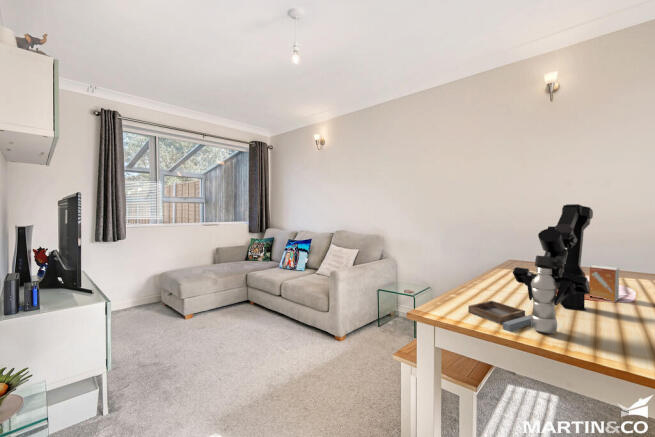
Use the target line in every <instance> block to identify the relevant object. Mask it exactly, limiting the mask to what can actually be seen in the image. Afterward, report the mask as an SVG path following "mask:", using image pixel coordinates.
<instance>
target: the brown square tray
mask: <svg viewBox="0 0 655 437" xmlns="http://www.w3.org/2000/svg"><path fill="white" fill-rule="evenodd" d="M467 307H468V313H470V314H473V315H474V316H477V317H481V318H482V319H485V320H489V321H491V322H493V323H496V324H499V325H503V322H507V321H510V320H514V319H518V318H521V317H525V316H526V310H523V309H520V308H517V307H513V306H510V305H507V304H504V303H500V302H497V301H494V300H488V301H484V302H480V303H473V304H470V305H468V306H467Z"/></svg>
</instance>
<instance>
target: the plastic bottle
mask: <svg viewBox="0 0 655 437" xmlns="http://www.w3.org/2000/svg"><path fill="white" fill-rule="evenodd" d="M536 269H537V270H536V273H535V274H537V276H535V277H534V279H533V280H532V282H531V288H532V294H533V298H532V314H531V315H532V316H531V325H530V326H531V327H532V329H533V330H535V331H537V332H540V333H544V334H554V333H556V331H557V330H558V320H557V316H556V305H554V301H555V297H556V295H557V292H558V290H557V283H556V282H555V280H554V279H553V278H552V277H551V275H552V268H550V267H537V266H536Z"/></svg>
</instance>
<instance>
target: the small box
mask: <svg viewBox="0 0 655 437" xmlns="http://www.w3.org/2000/svg"><path fill="white" fill-rule="evenodd" d="M588 270H589V274H588V276H589V277H588V282H589V287H590V294H591V295H595V296H599V297H603V298H606V299H610V300H609V302H614V303H616V302H617V300H616V299H617V298H618V297H619V295H620V288H619V287H620V268H619V267H614V266H612V267H611V266H606V265H605V266H604V265H596V264H593V265H591V266H589V269H588ZM619 298H620V297H619ZM619 298H618V299H619Z"/></svg>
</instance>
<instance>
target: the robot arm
mask: <svg viewBox="0 0 655 437" xmlns="http://www.w3.org/2000/svg"><path fill="white" fill-rule="evenodd" d="M593 216H594V212H593V209H592V207H590V206H584V205H582V204H579V203H578V204H576V203H575V204H574V203H573V204H572V203H571V204H570V203H569V204H568V203H567V204H565V205H563V206H562V207H561V215H560V217H559V219H558V222H557V224H556V225H555V226H553V225H552V226H551V225H550V226H547V228H545V229H543V230H541V231H540V232H538V235H537V236H538V240H539V243H540V245H541V248H542V250H543V251H544V255H536V256H535V262H534V266H535V267H536V271H537V267H550V268H552V275H551V277H552V278H553V279H554V280H555V282H556V283H557V292H556V297H555V301H554V305H555V306H558V305H561V306H562V307H563V308H564V309H568V310H577V311H587V308H586V307H585V297H586V296H585V295H589V294H590V287H589V278H587V276H586V273H585V272H584V270H583V268H582V267H581V265H582V253H583V242H584V232H585V230H586V228H588V226H590V224H591V220H592V219H593ZM537 274H538V273H534V272H532V271H530V269H529V268H526V267H520V266H519V267H518V266H517V267H515V268H513V270H512V275H513V276H514V278H515V281H516V282H517V283H520V284H524V285H525V286H526V287H527V293H528V299H529V301H533V294H532V288H531V282H532V280H533V279H534V277H535V276H537Z"/></svg>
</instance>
